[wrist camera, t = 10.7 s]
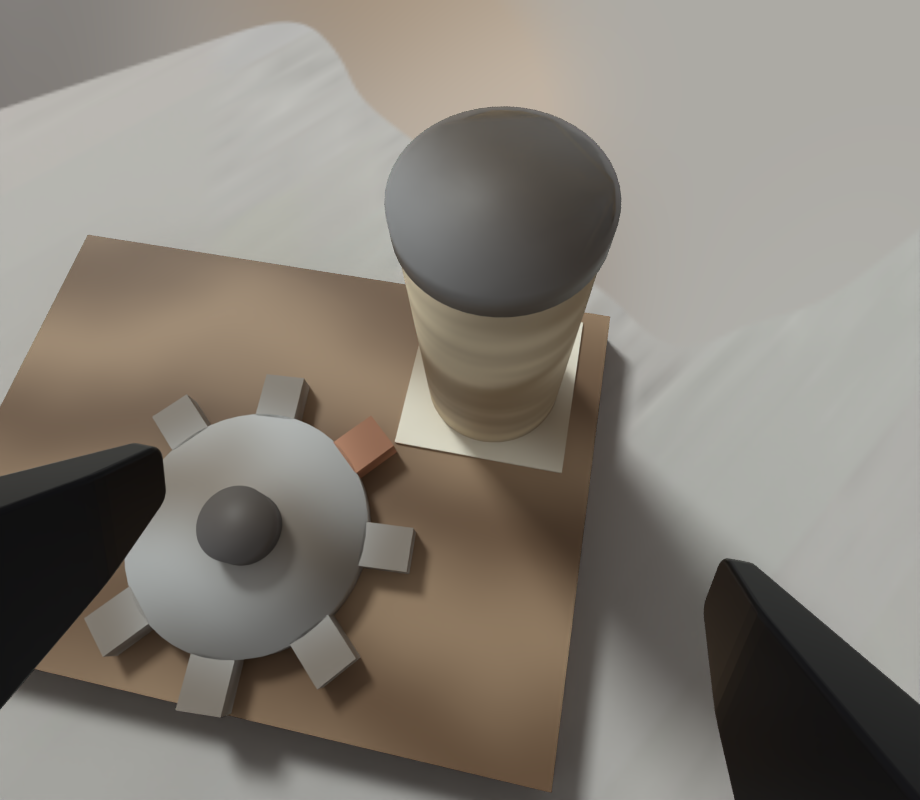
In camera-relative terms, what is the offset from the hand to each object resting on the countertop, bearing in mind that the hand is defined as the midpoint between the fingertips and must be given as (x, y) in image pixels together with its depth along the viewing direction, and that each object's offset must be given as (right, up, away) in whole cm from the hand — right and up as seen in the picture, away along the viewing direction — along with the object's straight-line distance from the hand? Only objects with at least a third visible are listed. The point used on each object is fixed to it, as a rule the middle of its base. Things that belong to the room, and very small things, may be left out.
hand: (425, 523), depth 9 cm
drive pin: (+2, +3, +12) cm, 13 cm away
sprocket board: (-6, -1, +13) cm, 14 cm away
